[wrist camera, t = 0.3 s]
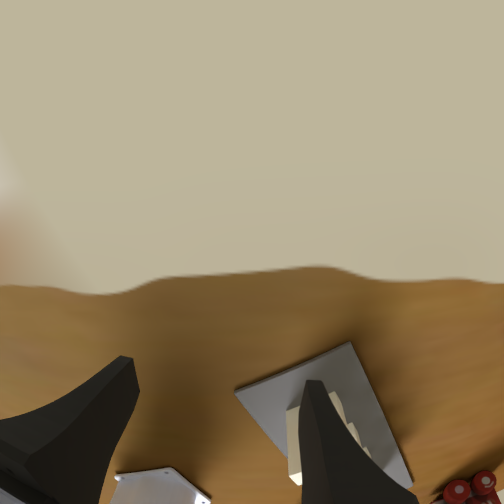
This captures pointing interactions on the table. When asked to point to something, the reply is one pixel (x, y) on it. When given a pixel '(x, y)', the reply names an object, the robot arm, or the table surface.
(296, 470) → the tile
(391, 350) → the table surface
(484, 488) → the toy fire truck
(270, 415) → the runner mat
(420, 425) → the table surface
